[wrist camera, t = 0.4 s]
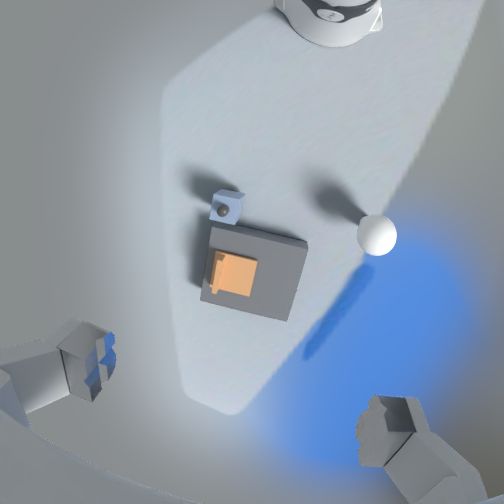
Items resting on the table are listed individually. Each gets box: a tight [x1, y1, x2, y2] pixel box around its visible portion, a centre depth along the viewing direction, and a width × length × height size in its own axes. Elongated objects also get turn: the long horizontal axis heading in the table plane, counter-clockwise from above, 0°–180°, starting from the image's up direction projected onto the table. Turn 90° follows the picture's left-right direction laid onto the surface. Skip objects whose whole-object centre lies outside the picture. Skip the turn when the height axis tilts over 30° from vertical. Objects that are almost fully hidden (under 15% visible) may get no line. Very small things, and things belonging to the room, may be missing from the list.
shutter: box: [210, 250, 258, 296], centre depth 51 cm, size 7×7×3 cm
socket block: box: [200, 221, 308, 321], centre depth 55 cm, size 14×16×4 cm
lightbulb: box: [357, 215, 397, 256], centre depth 46 cm, size 6×6×11 cm
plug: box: [209, 189, 245, 225], centre depth 49 cm, size 4×4×8 cm
